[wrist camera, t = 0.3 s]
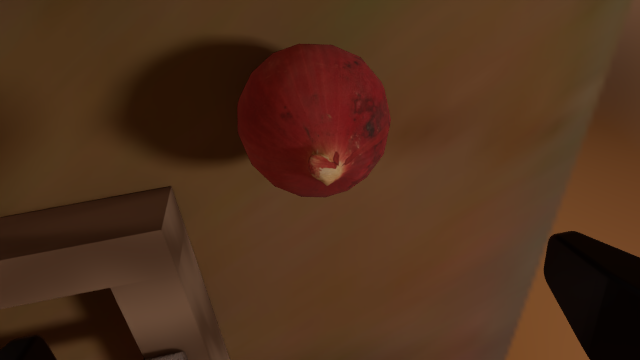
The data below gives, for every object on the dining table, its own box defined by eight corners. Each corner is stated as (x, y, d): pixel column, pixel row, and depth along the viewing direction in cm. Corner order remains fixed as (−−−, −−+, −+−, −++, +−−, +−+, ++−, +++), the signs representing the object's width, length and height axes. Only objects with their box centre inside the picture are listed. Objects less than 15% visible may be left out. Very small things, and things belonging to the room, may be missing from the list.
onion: (346, 5, 20) (405, 55, 13) (376, 123, 23) (437, 215, 16) (216, 50, 20) (207, 124, 13) (264, 162, 23) (276, 270, 16)
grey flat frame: (238, 384, 31) (238, 437, 28) (-14, 439, 30) (-43, 500, 27) (171, 186, 23) (161, 229, 20) (-177, 250, 22) (-245, 307, 19)
